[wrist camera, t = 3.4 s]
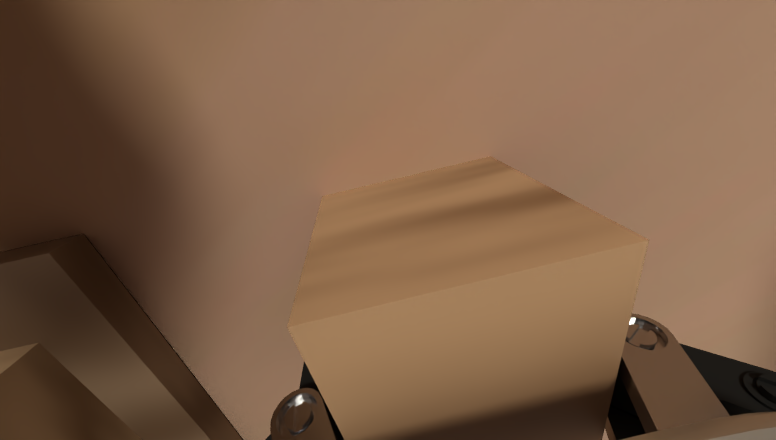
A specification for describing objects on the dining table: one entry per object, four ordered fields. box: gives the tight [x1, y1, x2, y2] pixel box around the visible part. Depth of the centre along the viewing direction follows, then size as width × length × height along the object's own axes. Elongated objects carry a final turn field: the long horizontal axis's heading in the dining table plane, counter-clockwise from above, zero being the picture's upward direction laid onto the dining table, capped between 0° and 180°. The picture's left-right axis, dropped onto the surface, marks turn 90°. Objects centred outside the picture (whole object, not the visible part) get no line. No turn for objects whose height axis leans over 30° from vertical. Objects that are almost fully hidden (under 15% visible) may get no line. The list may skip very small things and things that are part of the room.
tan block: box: [287, 156, 649, 440], centre depth 9 cm, size 9×6×6 cm, turn 12°
